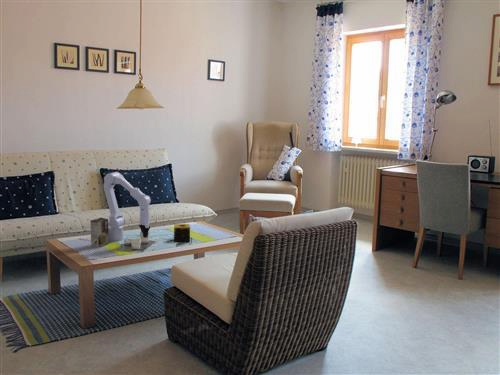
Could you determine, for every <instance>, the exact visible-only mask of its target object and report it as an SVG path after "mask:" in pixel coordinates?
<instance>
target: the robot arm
mask: <svg viewBox="0 0 500 375" xmlns="http://www.w3.org/2000/svg"><path fill="white" fill-rule="evenodd" d="M103 182H104V183H103V191H104V193H105V199H106V201H107V202H106V203H107V206H108V209H109V213H110V215H109V217H108V226H109V227H108V232H109V244H110V243H113V242H119V241H123V240H124V226H125V224H126V219H125V217H124V215H123V214H122V213H121V212H120V210H119V205H118V202H117V198H116V194H115V190H114V187H115V186H116V185H121V186H122V187H123V188H124V189H126V190H127V191H128V192H129V194H130V196H132V198H133V199H134V200H136V201H137V203H138V205H139V224H138V227H139V228H140V229H139V230H140V232H143V237H144V238H145V237H147V235H148V233H149V232H150V229H151V226H150V224H152V221H150V204H151V202H152V199H151V197H150V195H146V194H145V193H143V192H142V191H141V190H140V188H139V187H134V186H133V185H132V184H131V183H130V182H128V181H127V180H126V179H125V177H124V175H123V174H121V173H120V172H119V171H114V172H111V173H106V175H105V176H104V177H103Z"/></svg>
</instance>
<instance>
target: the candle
mask: <svg viewBox="0 0 500 375" xmlns="http://www.w3.org/2000/svg"><path fill="white" fill-rule="evenodd" d="M173 226H174V227H173V228H174V229H173V242H174V243H190V242H191V225H190V223H174V224H173Z"/></svg>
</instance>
